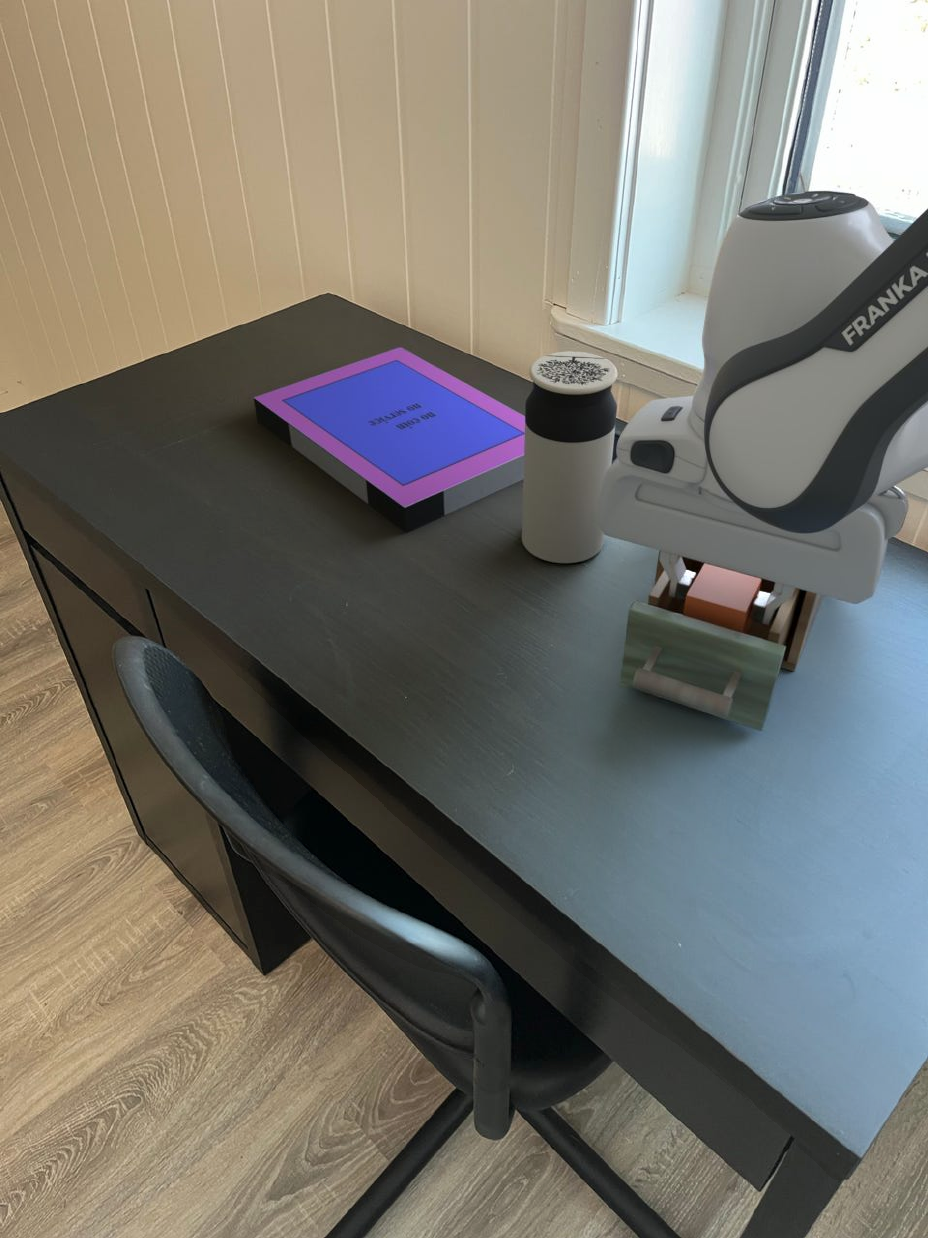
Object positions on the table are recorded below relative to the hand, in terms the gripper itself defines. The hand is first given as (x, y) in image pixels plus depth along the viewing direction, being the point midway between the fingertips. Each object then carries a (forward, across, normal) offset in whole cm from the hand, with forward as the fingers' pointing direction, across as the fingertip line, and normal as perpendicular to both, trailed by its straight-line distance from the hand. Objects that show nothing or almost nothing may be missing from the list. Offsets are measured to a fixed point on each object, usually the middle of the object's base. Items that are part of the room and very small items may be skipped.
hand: (720, 606), depth 72 cm
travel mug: (+8, +18, -12) cm, 23 cm away
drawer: (+7, 0, 0) cm, 7 cm away
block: (+3, 0, 0) cm, 3 cm away
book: (+8, +42, -22) cm, 48 cm away
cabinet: (+8, 0, -11) cm, 14 cm away
